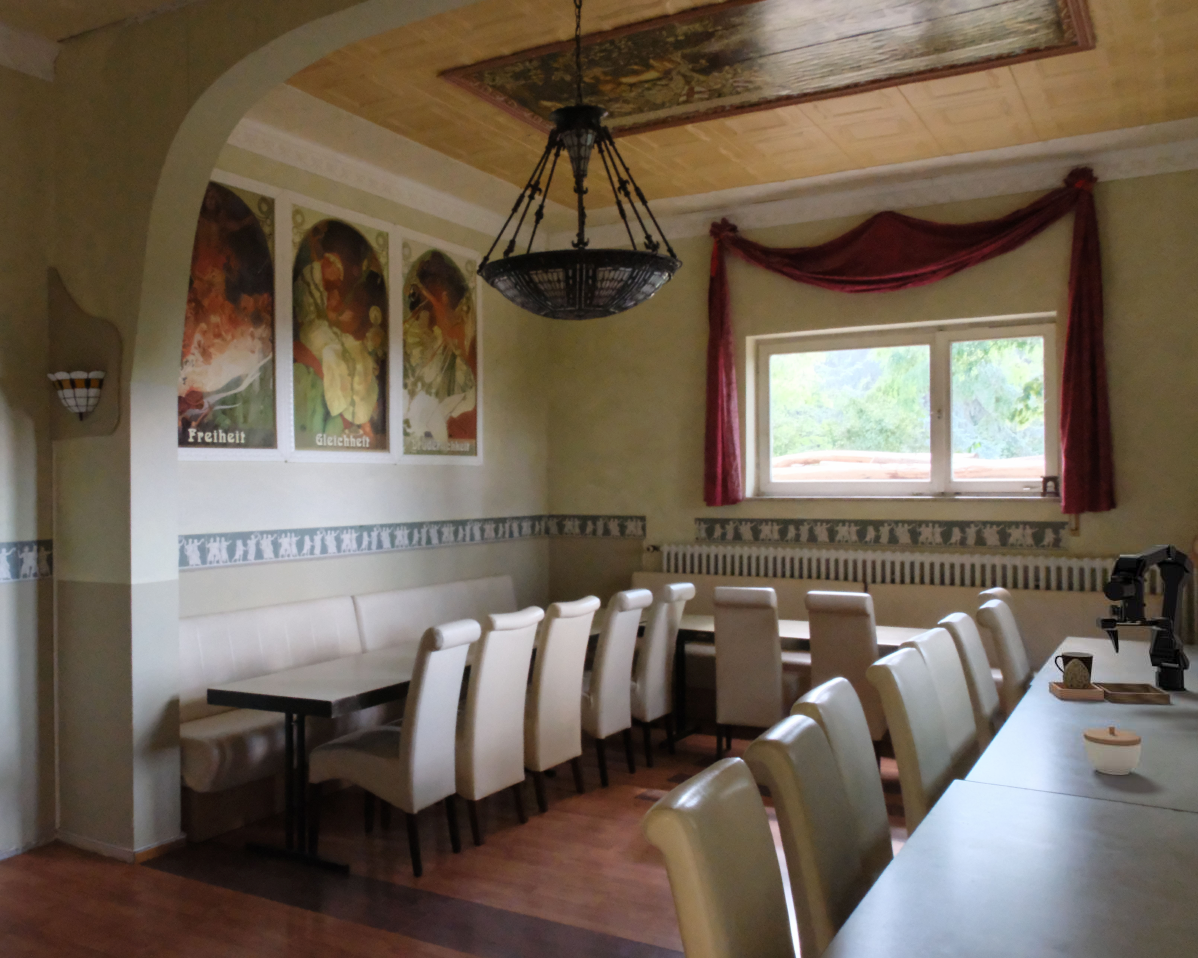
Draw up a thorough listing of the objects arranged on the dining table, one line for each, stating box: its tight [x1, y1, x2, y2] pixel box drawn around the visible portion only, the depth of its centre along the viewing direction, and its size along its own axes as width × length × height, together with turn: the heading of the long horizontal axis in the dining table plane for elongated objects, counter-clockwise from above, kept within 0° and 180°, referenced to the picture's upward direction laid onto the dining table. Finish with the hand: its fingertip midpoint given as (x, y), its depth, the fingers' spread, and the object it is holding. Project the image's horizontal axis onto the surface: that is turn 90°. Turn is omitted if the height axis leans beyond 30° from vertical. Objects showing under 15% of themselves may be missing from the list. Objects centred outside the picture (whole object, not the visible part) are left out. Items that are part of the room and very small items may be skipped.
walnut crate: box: [1091, 681, 1171, 704], centre depth 278 cm, size 16×16×2 cm
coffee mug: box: [1054, 651, 1094, 683], centre depth 294 cm, size 12×9×10 cm
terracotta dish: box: [1048, 681, 1105, 701], centre depth 281 cm, size 12×12×3 cm
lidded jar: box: [1083, 725, 1142, 776], centre depth 205 cm, size 11×11×9 cm
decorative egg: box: [1062, 659, 1091, 689], centre depth 281 cm, size 7×7×10 cm
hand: (1134, 653), depth 278 cm, fingers open, 9 cm apart
